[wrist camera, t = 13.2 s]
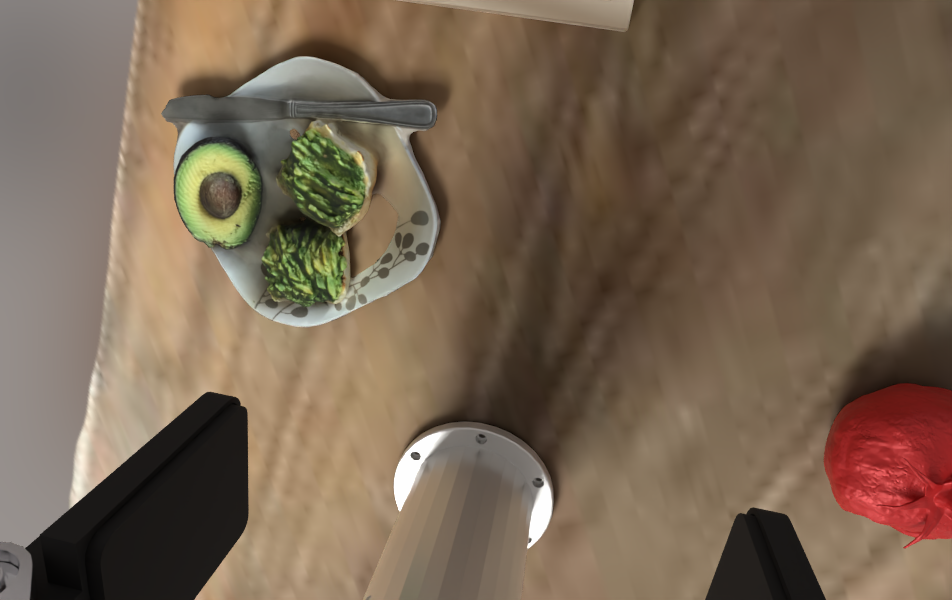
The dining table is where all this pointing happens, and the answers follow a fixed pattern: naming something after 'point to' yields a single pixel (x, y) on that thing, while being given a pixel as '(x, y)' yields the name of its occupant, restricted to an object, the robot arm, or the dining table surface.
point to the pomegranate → (895, 459)
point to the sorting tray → (552, 10)
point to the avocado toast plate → (303, 187)
